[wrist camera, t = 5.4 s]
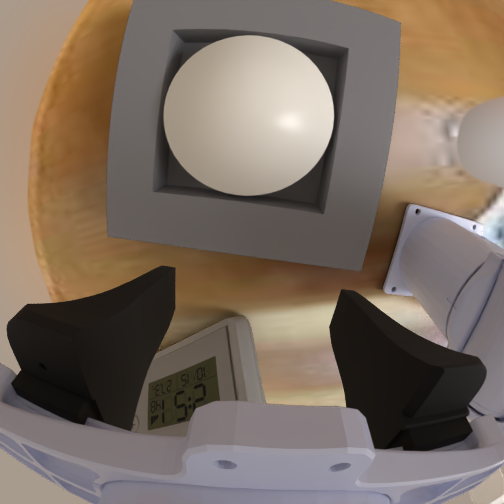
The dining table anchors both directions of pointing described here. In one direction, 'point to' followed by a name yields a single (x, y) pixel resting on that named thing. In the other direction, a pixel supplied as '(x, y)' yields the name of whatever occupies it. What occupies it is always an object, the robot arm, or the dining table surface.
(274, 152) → the button cap
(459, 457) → the robot arm
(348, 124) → the button housing
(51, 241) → the dining table surface
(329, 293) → the dining table surface
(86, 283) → the dining table surface
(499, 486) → the milk
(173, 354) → the digital clock
